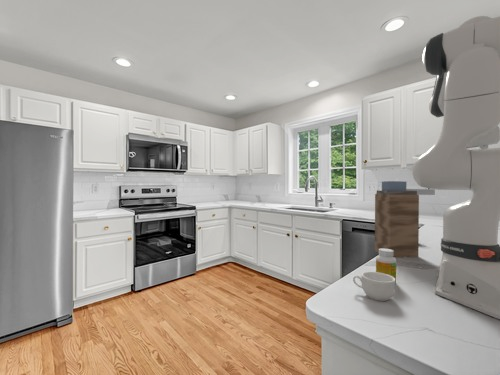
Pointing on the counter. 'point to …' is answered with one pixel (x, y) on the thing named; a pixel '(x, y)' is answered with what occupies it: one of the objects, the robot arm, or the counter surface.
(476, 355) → the counter surface
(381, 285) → the teacup
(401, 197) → the socket tower
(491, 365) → the counter surface
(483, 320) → the counter surface
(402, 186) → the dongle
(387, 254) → the supplement bottle
